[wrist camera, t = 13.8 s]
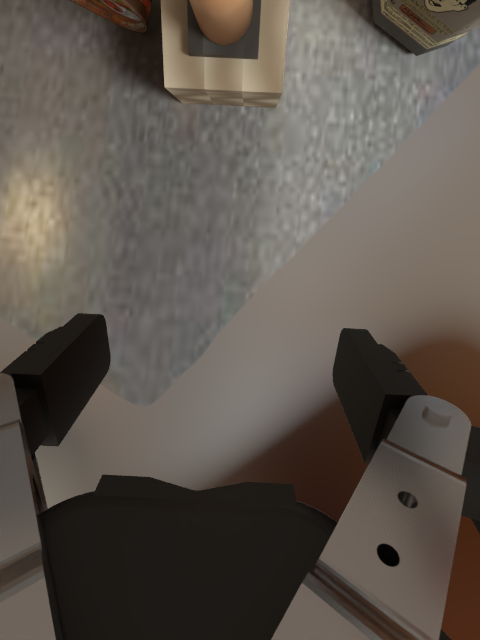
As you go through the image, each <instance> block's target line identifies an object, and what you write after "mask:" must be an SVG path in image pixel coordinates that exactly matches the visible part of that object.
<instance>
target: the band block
mask: <svg viewBox="0 0 480 640" xmlns="http://www.w3.org/2000/svg"><path fill="white" fill-rule="evenodd" d="M289 5H290V0H253V14H252V19H251V23H250V25H249V28H248V29H247V31H246V33H245V34H244V37H242V38H241V39H239V40H238V41H236V42H235V43H232V44H229V45H219V44H216V43H214V42H212V41H211V40H209V39H208V38H207V37H206V36H205V35H204V34H203V32H202V31H201V29H200V27H199V25H198V22H197V20H196V17H195V14H194V11H193V9H192V6H191V3H190V1H189V0H161V19H162V42H163V65H164V87H165V88H166V89H167V90H168V91H169V92H170V93H171V94H173V95H174V96H175V97H176V98H177V99H178V100H179V101H180V102H182V103H190V104H210V105H231V106H251V107H271V108H276V106H277V104H278V101H279V99H280V97H281V94H282V88H283V77H284V65H285V53H286V41H287V29H288V17H289Z"/></svg>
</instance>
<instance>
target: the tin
mask: <svg viewBox="0 0 480 640" xmlns="http://www.w3.org/2000/svg"><path fill="white" fill-rule="evenodd" d="M70 1H72V2H75V3H76V4H78V5H80V6H82V7H84V8H86V9H88V10H90V11H92V12H94V13H96V14H98V15H100V16H102V17H104V18H106V19H108V20H110V21H112V22H114V23H116V24H118V25H120V26H122V27H124V28H127V29H130V30H133V31H136V32H145V31H146V30H147V21H148V17H149V13H150V10H151V4H152V0H70Z"/></svg>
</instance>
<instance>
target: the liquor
mask: <svg viewBox="0 0 480 640" xmlns="http://www.w3.org/2000/svg"><path fill="white" fill-rule="evenodd" d="M372 6H373V19H374V23H376V24H377V25H378V26H379V27H381V28H382V29H383V30H384V31H386V32H387V33H388V34H390V35H391V36H392V37H393V38H395V39H396V40H397V41H398V42H400V43H401V44H402V45H404V46H405V47H406V48H407V49H409V50H410V51H411V52H412V53H414V54H415V55H416V56H418V55H421V54H424V53H427V52H430V51H433V50H436V49H439V48H442V47H445V46H447V45H449V44H450V43H452V42H454V41H455V40H457V39H459V38H460V37H462V36H463V35H465V34H467V33H468V32H470V31H472V30H473V29H475V28H477V27H478V26H480V0H372Z"/></svg>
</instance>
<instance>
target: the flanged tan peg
mask: <svg viewBox="0 0 480 640" xmlns="http://www.w3.org/2000/svg"><path fill="white" fill-rule="evenodd" d="M189 1H190V3H191V6H192V9H193V11H194V14H195V17H196V20H197V22H198V25H199V27H200V29H201V31H202V32H203V34H204V35H205V36H206V37H207V38H208V39H209V40H211V41H212V42H214V43H216V44H219V45H229V44H232V43H235V42H236V41H238V40H239V39H241V38H242V37H243V35H244V34H245V33H246V31H247V29H248V28H249V25H250V23H251V19H252V14H253V0H189Z"/></svg>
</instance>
